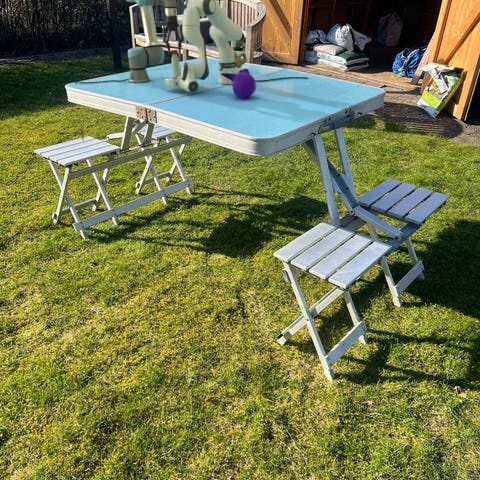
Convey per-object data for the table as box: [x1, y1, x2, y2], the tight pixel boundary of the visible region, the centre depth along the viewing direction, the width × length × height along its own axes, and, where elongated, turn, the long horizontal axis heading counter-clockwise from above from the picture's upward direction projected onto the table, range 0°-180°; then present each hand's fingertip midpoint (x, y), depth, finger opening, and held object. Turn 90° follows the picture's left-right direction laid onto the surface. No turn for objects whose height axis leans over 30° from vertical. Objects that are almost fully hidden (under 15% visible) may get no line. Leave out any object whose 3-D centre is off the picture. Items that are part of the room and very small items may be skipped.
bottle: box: [171, 54, 181, 78], centre depth 308 cm, size 5×5×24 cm
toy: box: [221, 68, 257, 99], centre depth 286 cm, size 16×18×27 cm
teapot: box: [234, 50, 247, 69], centre depth 367 cm, size 21×12×15 cm, turn 120°
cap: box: [170, 49, 179, 55], centre depth 302 cm, size 4×4×2 cm
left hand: (174, 53), depth 302 cm, fingers open, 7 cm apart
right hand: (176, 79), depth 311 cm, fingers closed on bottle, 5 cm apart
